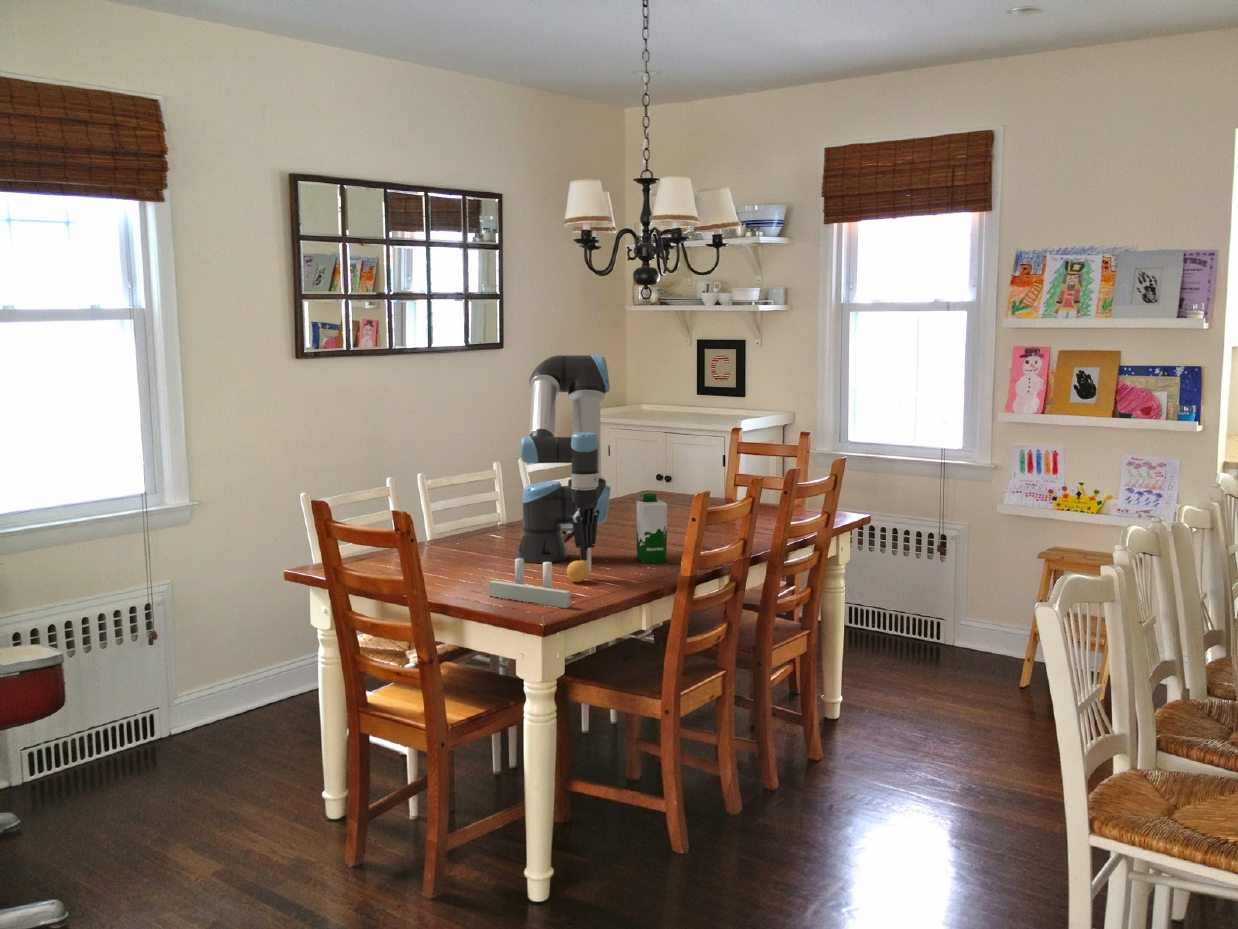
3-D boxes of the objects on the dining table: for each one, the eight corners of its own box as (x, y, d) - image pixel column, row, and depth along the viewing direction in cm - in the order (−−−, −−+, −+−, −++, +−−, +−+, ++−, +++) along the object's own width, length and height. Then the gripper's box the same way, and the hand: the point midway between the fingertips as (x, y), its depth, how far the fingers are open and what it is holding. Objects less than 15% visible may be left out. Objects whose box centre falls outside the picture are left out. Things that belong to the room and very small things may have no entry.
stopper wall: (489, 596, 291) (488, 582, 291) (493, 595, 293) (493, 580, 293) (566, 608, 280) (566, 592, 279) (570, 606, 282) (570, 591, 281)
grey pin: (513, 590, 298) (513, 559, 297) (518, 588, 300) (518, 557, 299) (520, 591, 297) (520, 560, 296) (525, 589, 299) (525, 558, 298)
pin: (541, 594, 294) (541, 563, 293) (546, 592, 296) (546, 561, 295) (549, 595, 293) (548, 564, 292) (553, 593, 295) (553, 562, 294)
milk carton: (660, 556, 339) (661, 492, 337) (670, 563, 331) (670, 497, 328) (633, 558, 337) (633, 494, 334) (642, 564, 328) (642, 498, 326)
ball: (564, 584, 308) (561, 566, 305) (575, 573, 312) (571, 555, 309) (583, 587, 305) (579, 569, 302) (593, 575, 309) (590, 558, 307)
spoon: (592, 528, 383) (591, 519, 382) (571, 552, 351) (570, 543, 350) (562, 529, 385) (561, 521, 384) (538, 554, 353) (537, 544, 353)
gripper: (585, 491, 300) (586, 576, 303) (607, 486, 311) (608, 567, 314) (561, 490, 303) (562, 574, 306) (584, 484, 315) (585, 565, 318)
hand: (585, 570), depth 310 cm, fingers closed
